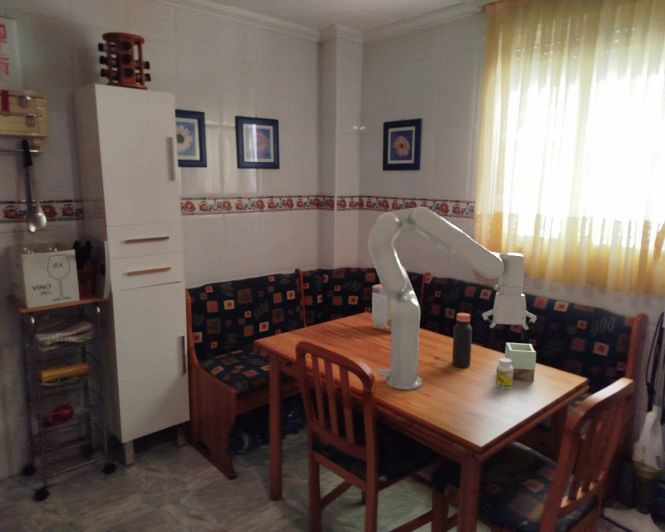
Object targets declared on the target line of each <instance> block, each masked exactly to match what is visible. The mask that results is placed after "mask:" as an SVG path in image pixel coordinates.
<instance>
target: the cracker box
mask: <svg viewBox="0 0 665 532" xmlns="http://www.w3.org/2000/svg"><path fill="white" fill-rule="evenodd" d="M371 287H372V289H371V290H372V293H371V295H372V298H371V299H372V300H371V306H372V307H371V328H372V329H375V330H379V331H382V332H383V331H384V332H387V333H391V320H392V316H391V312H392V311H391V303H390V301H389V298H388V296H387V294H386V291H385V290H384V289H383V287H382V286H381V283H379V284H375V285H372V286H371Z"/></svg>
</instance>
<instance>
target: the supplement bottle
mask: <svg viewBox="0 0 665 532" xmlns="http://www.w3.org/2000/svg"><path fill="white" fill-rule="evenodd" d="M511 362H512V361H511V360H510V359H507V358H505V357H501V358H499V359H498V364H497V365H496V372H495V373H496V376H495V386H496V387H497V388H499V389H503V390H510V389H512V388H513V382H514V381H513V367H512V366H511V364H512V363H511Z"/></svg>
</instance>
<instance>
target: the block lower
mask: <svg viewBox="0 0 665 532" xmlns="http://www.w3.org/2000/svg"><path fill="white" fill-rule="evenodd" d="M535 371H536V369H535V370H529V369H515V368H513V380H514V381H523V382H535Z"/></svg>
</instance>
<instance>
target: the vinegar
mask: <svg viewBox="0 0 665 532" xmlns="http://www.w3.org/2000/svg"><path fill="white" fill-rule="evenodd" d="M470 322H471V314H470V313H468V312H467V313H466V312H458V313H456V324H455V325H454V326H453V335H452V336H453V338H452V339H453V340H452V357H451V358H452V360H451V362H452V363H451V364H452V365H453V366H454V367H458V368H469V367H470V366H471V360H472V359H471V357H472V356H471V355H472V340H473V336H472V335H473V327H472V326H471V324H470Z"/></svg>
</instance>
